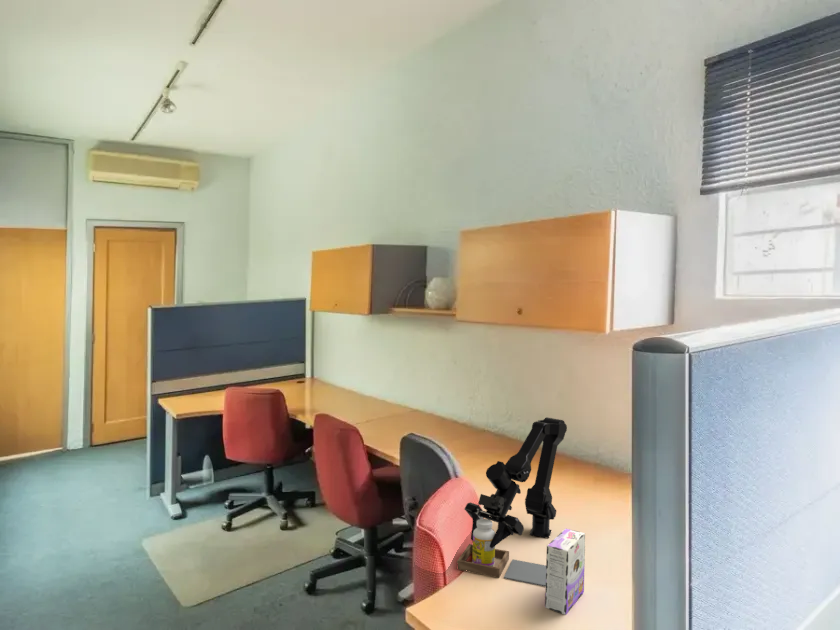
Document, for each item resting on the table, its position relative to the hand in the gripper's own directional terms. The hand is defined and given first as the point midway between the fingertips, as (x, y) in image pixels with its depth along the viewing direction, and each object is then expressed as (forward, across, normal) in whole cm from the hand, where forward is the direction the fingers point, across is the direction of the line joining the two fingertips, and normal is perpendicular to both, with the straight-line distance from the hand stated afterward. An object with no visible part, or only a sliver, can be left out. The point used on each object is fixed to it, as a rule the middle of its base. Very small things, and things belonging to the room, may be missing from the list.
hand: (481, 543), depth 165 cm
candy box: (+4, +27, +5) cm, 28 cm away
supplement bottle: (+4, 0, +6) cm, 7 cm away
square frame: (+4, 0, +6) cm, 7 cm away
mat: (0, +12, +9) cm, 16 cm away
